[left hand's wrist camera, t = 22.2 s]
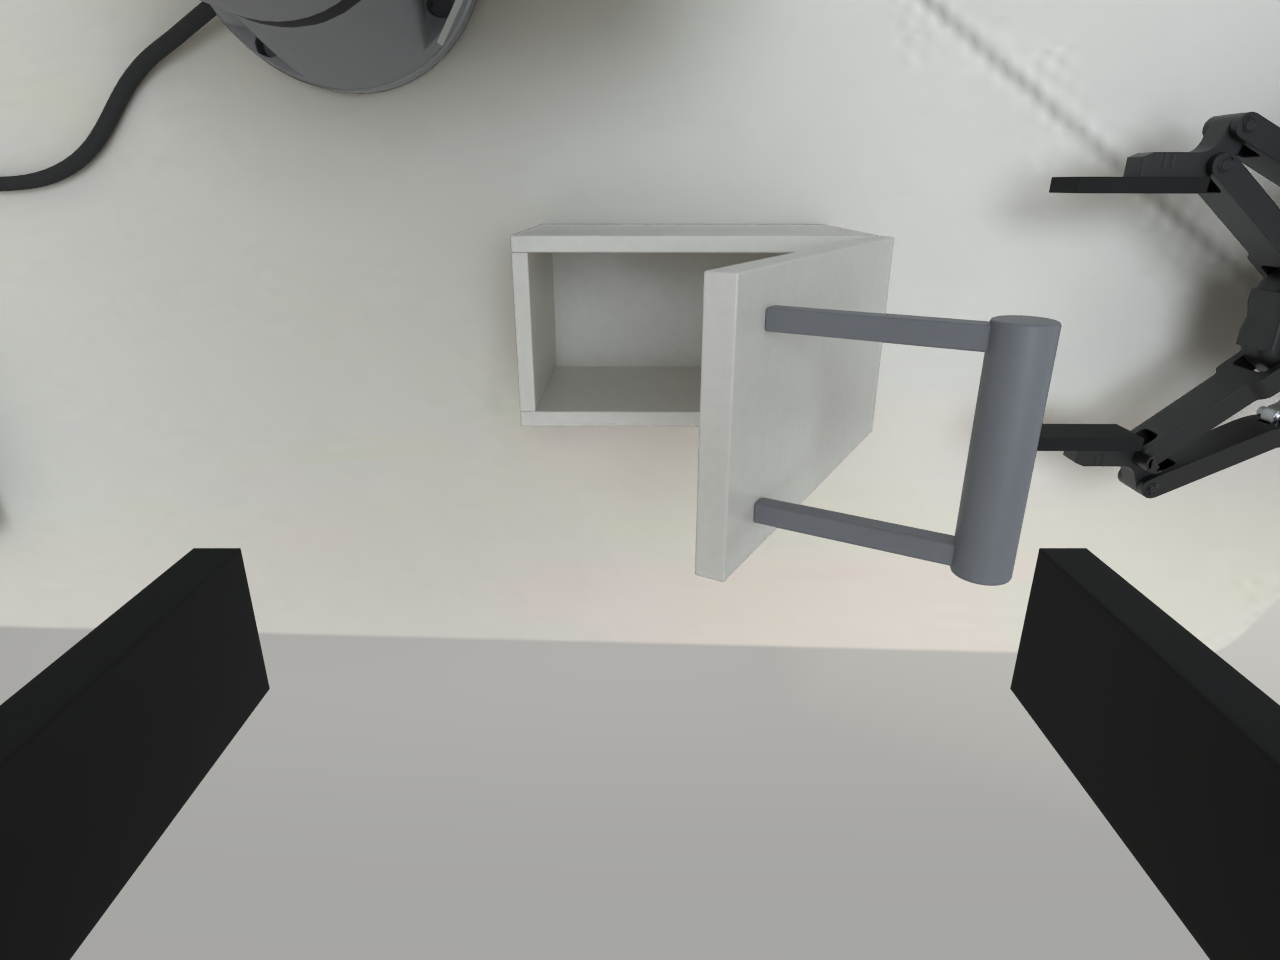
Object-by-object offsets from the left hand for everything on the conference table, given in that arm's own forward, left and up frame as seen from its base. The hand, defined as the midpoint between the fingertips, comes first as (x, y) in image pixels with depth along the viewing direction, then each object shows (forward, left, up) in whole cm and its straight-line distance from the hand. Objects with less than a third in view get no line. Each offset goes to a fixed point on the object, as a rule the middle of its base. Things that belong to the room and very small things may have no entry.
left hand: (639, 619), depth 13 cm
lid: (+6, -1, -18) cm, 19 cm away
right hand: (+21, -4, -31) cm, 38 cm away
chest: (+3, 0, -37) cm, 37 cm away
